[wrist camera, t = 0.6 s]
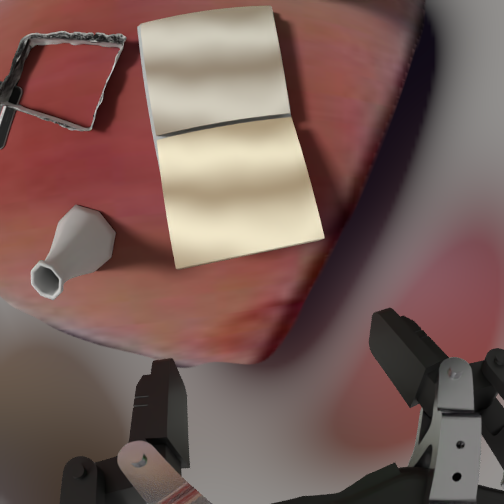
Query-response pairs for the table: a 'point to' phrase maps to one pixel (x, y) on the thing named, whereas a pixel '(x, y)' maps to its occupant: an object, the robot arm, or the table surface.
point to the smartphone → (8, 114)
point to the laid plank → (213, 68)
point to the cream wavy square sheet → (236, 192)
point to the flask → (74, 250)
